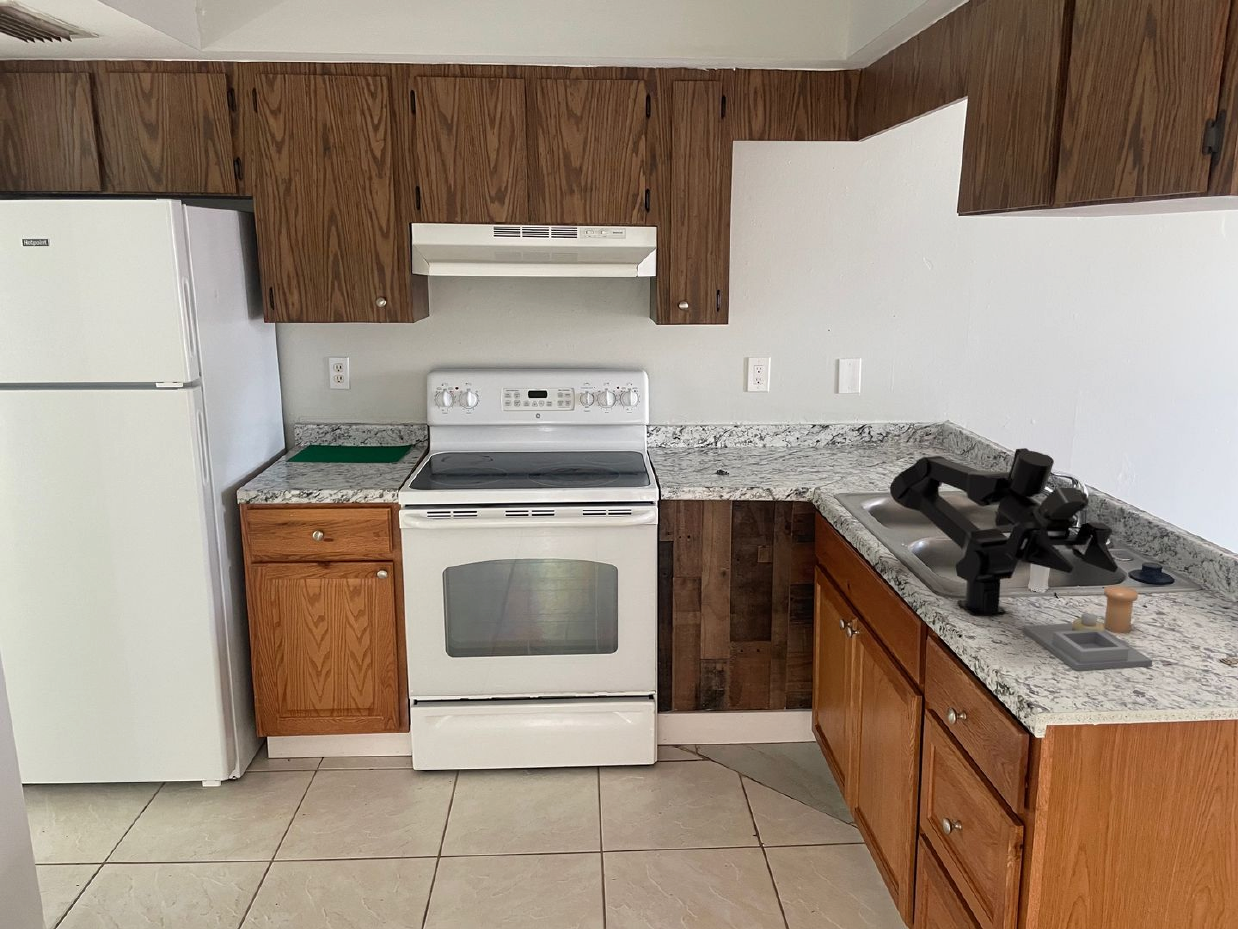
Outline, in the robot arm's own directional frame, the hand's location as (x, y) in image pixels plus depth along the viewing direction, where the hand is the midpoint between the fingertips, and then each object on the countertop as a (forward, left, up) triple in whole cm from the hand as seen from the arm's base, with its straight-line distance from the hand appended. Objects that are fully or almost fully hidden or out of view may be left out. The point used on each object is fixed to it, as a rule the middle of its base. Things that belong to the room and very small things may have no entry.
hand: (1094, 570), depth 151 cm
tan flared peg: (-13, +14, -16) cm, 25 cm away
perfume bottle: (-33, +11, -16) cm, 38 cm away
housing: (-6, +4, -16) cm, 17 cm away
